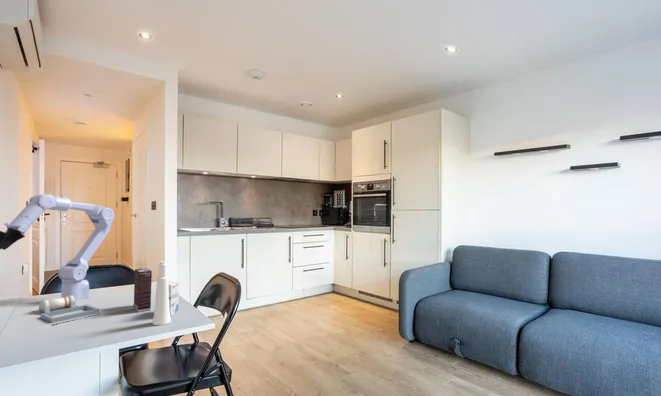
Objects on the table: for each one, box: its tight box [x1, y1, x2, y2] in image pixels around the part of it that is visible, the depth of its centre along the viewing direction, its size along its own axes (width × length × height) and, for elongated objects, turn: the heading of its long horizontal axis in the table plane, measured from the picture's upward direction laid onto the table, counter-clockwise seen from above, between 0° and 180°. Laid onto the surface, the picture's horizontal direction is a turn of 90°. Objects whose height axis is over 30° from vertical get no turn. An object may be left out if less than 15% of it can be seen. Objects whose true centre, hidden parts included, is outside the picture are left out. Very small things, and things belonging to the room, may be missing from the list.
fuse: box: [39, 295, 75, 312], centre depth 138 cm, size 10×5×5 cm, turn 146°
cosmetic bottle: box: [151, 260, 172, 326], centre depth 125 cm, size 6×6×22 cm
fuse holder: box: [32, 301, 78, 316], centre depth 138 cm, size 13×10×4 cm
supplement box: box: [133, 267, 153, 313], centre depth 142 cm, size 9×5×16 cm, turn 41°
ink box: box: [168, 280, 180, 317], centre depth 137 cm, size 8×5×12 cm, turn 5°
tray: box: [40, 304, 100, 326], centre depth 131 cm, size 15×11×2 cm
